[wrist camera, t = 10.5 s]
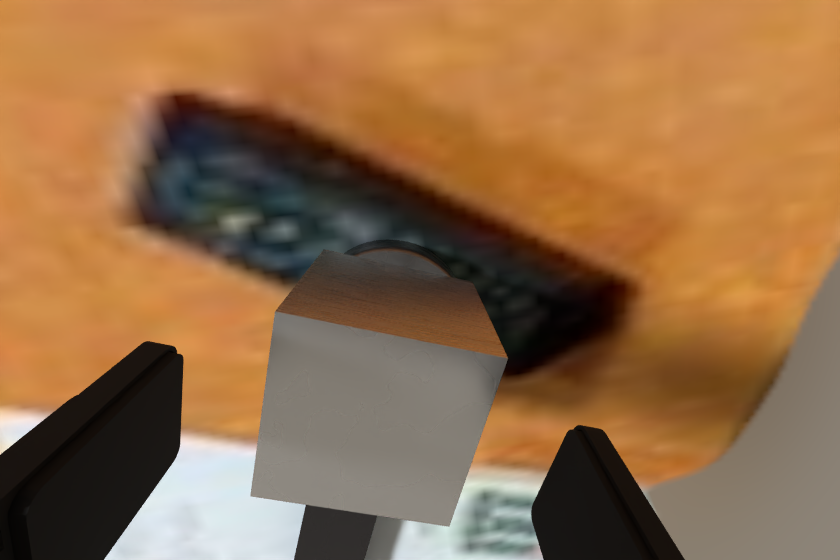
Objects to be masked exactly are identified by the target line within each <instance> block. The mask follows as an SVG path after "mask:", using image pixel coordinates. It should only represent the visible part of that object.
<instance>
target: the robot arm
mask: <svg viewBox="0 0 840 560" xmlns="http://www.w3.org/2000/svg"><path fill="white" fill-rule="evenodd" d="M182 383H183V356H182V355H181V354H177V350H176V348H175V347H174V346H170V345H165V344H160V343H155V342H150V341H147V342H144V343H142V344H141V345H140V346H138V347H137V348H136V349H135V350H133V351H132V352H131V353H130V354H128V355H127V356H126V357H125V358H123V359H122V360H121V361H120V362H119V363H117V364H116V365H115V366H114V367H112V368H111V369H110V370H109V371H107V372H106V373H105V374H104V375H102V376H101V377H100V378H99V379H97V380H96V381H95V382H94V383H92V384H91V385H90V386H89V387H87V388H86V389H85V390H84V391H82V392H81V393H80V394H79V395H76V396H75V397H73V398H71V399H70V400H68V401H67V402H66V403H65V404H63V405H62V406H61V407H59V408H58V409H57V410H56V411H54V412H53V413H52V414H51V415H49V416H48V417H47V418H46V419H44V420H43V421H42V422H41V423H39V424H38V425H37V426H36V427H34V428H33V429H32V430H31V431H29V432H28V433H27V434H26V435H24V436H23V437H22V438H21V439H19V440H18V441H17V442H16V443H14V444H13V445H12V446H11V447H9V448H8V449H7V450H6V451H4V452H3V453H2V454H1V455H0V560H104V559H105V557H106V556H107V554H108V553H109V552H110V550H111V549H112V547H113V546H114V545H115V543H116V542H117V540H118V539H119V538H120V536H121V535H122V533H123V532H124V531H125V529H126V528H127V526H128V525H129V524H130V522H131V521H132V519H133V518H134V517H135V515H136V514H137V512H138V511H139V510H140V508H141V507H142V505H143V504H144V503H145V501H146V500H147V498H148V497H149V496H150V494H151V493H152V491H153V490H154V488H155V487H156V486H157V484H158V483H159V481H160V480H161V479H162V477H163V476H164V474H165V473H166V472H167V470H168V469H169V467H170V466H171V465H172V463H173V462H174V460H175V458H176V456H177V454H178V451H179V448H180V434H181V408H182ZM531 516H532V522H533V526H534V529H535V532H536V536H537V539H538V542H539V546H540V549H541V552H542V555H543V559H544V560H685V559H684V558H683V556H682V555H681V553H680V551H679V550H678V548H677V547H676V545H675V543H674V542H673V540H672V539H671V537H670V535H669V534H668V532H667V531H666V529H665V527H664V526H663V524H662V523H661V521H660V519H659V518H658V516H657V515H656V513H655V511H654V510H653V508H652V507H651V505H650V503H649V502H648V500H647V499H646V497H645V495H644V494H643V492H642V491H641V489H640V487H639V486H638V484H637V483H636V481H635V480H634V478H633V476H632V475H631V473H630V472H629V470H628V468H627V467H626V465H625V464H624V462H623V460H622V459H621V457H620V456H619V454H618V452H617V451H616V449H615V448H614V446H613V444H612V443H611V441H610V440H609V438H608V436H607V435H606V433H605V432H604V431H603V430H601V429H598V428H593V427H587V426H582V425H577V426H576V427H575V428H574V429H573V430H569V431H568V432H567V434H566V436H565V438H564V440H563V442H562V444H561V446H560V448H559V450H558V452H557V455H556V457H555V459H554V461H553V463H552V465H551V467H550V469H549V471H548V473H547V476H546V478H545V480H544V482H543V484H542V486H541V488H540V490H539V492H538V494H537V497H536V499H535V501H534V503H533V505H532V510H531Z"/></svg>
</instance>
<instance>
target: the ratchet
mask: <svg viewBox="0 0 840 560" xmlns="http://www.w3.org/2000/svg"><path fill="white" fill-rule="evenodd" d="M344 254H347V255H352V256H356V257H361V258H365V259H370V260H374V261H379V262H384V263H388V264H393V265H397V266H402V267H406V268H411V269H415V270H420V271H425V272H429V273H434V274H438V275H443V276H447V277H452V278H456V277H455V276H454V274H453V273H452V271H451V270H450V268H449V267H448V266H447V265H446V264H445V263H444V262H443V261H442V260H441V259H440V258H439V257H437V256H436V255H435V254H433V253H432V252H430V251H429V250H427V249H425V248H423V247H421V246H418V245H416V244H413V243H409V242H405V241H400V240H377V241H372V242H367V243H364V244H361V245H358V246H356V247H354V248H352V249H350V250H348V251H347V252H345V253H344ZM376 517H377V515H370V514H364V513H357V512H350V511H344V510H337V509H331V508H324V507H318V506H311V505H306V507H305V512H304V516H303V521H302V525H301V530H300V535H299V539H298V544H297V548H296V553H295V558H294V560H364V558H365V555H366V551H367V548H368V544H369V541H370V538H371V534H372V531H373V528H374V524H375V521H376Z"/></svg>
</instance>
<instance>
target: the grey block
mask: <svg viewBox="0 0 840 560" xmlns="http://www.w3.org/2000/svg"><path fill="white" fill-rule="evenodd" d="M507 360H508V357H507V355H506V353H505V350H504V348H503V346H502V344H501V342H500V340H499V338H498V336H497V333H496V331H495V329H494V327H493V325H492V323H491V321H490V318H489V316H488V314H487V312H486V310H485V308H484V306H483V303H482V301H481V299H480V297H479V295H478V293H477V291H476V288H475V286H474V284H473V282H470V281H466V280H461V279H456V278H452V277H447V276H443V275H438V274H434V273H429V272H425V271H420V270H415V269H411V268H406V267H402V266H397V265H393V264H388V263H384V262H379V261H374V260H370V259H365V258H361V257H356V256H352V255H347V254H343V253H338V252H334V251H329V250H323V251H322V253H321V254H320V255H319V256H318V258H317V259H316V260H315V261H314V263H313V264H312V265H311V267H310V268H309V269H308V270H307V272H306V273H305V274H304V275H303V277H302V278H301V279H300V281H299V282H298V283H297V284H296V286H295V287H294V288H293V289H292V291H291V292H290V293H289V295H288V296H287V297H286V298H285V300H284V301H283V302H282V303H281V305H280V306H279V307H278V309H277V310H276V311H275V317H274V324H273V332H272V339H271V347H270V354H269V362H268V369H267V376H266V384H265V391H264V399H263V406H262V414H261V421H260V429H259V436H258V444H257V451H256V459H255V466H254V474H253V481H252V489H251V496H252V497H259V498H265V499H272V500H278V501H285V502H291V503H298V504H305V505H311V506H318V507H324V508H331V509H337V510H344V511H350V512H357V513H364V514H370V515H377V516H383V517H390V518H396V519H403V520H409V521H416V522H423V523H429V524H436V525H442V526H450V523H451V520H452V517H453V514H454V511H455V508H456V506H457V503H458V500H459V497H460V494H461V491H462V488H463V486H464V483H465V480H466V477H467V474H468V471H469V468H470V466H471V463H472V460H473V457H474V454H475V451H476V449H477V446H478V443H479V440H480V437H481V434H482V431H483V429H484V426H485V423H486V420H487V417H488V414H489V411H490V409H491V406H492V403H493V400H494V397H495V394H496V392H497V389H498V386H499V383H500V380H501V377H502V374H503V372H504V369H505V366H506V363H507Z"/></svg>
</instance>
